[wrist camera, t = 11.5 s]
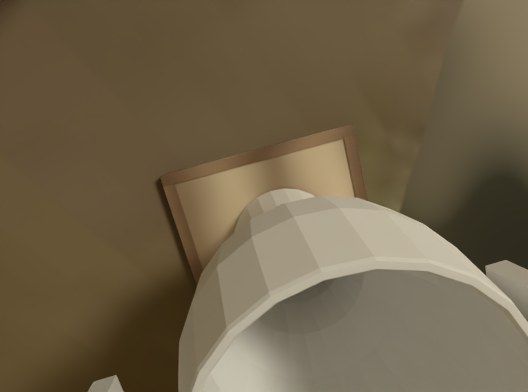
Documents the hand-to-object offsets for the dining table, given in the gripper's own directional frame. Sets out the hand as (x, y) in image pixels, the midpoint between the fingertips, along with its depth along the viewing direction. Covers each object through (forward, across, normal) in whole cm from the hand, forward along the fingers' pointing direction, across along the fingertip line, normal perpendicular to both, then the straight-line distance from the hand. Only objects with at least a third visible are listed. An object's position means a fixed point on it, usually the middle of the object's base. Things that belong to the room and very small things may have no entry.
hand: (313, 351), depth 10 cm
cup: (+12, +1, 0) cm, 12 cm away
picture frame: (+13, +1, 0) cm, 13 cm away
